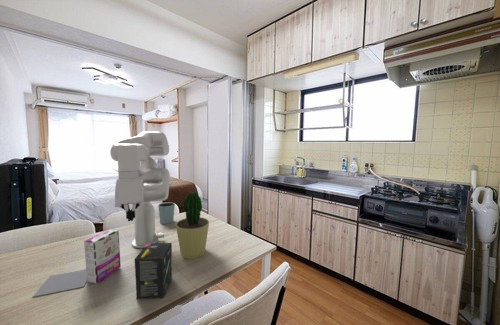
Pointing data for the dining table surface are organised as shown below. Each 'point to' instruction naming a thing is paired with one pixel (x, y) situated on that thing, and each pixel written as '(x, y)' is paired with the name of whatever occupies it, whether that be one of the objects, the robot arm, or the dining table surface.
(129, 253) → the dining table surface
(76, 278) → the mat
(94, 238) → the candy bar box
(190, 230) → the potted cactus
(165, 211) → the blue grey cup
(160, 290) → the tampon box
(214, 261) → the dining table surface
